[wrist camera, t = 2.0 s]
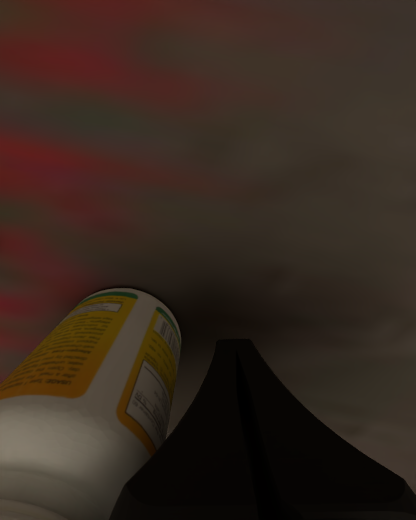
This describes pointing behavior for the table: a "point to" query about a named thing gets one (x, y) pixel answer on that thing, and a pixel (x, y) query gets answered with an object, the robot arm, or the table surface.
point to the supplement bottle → (87, 408)
